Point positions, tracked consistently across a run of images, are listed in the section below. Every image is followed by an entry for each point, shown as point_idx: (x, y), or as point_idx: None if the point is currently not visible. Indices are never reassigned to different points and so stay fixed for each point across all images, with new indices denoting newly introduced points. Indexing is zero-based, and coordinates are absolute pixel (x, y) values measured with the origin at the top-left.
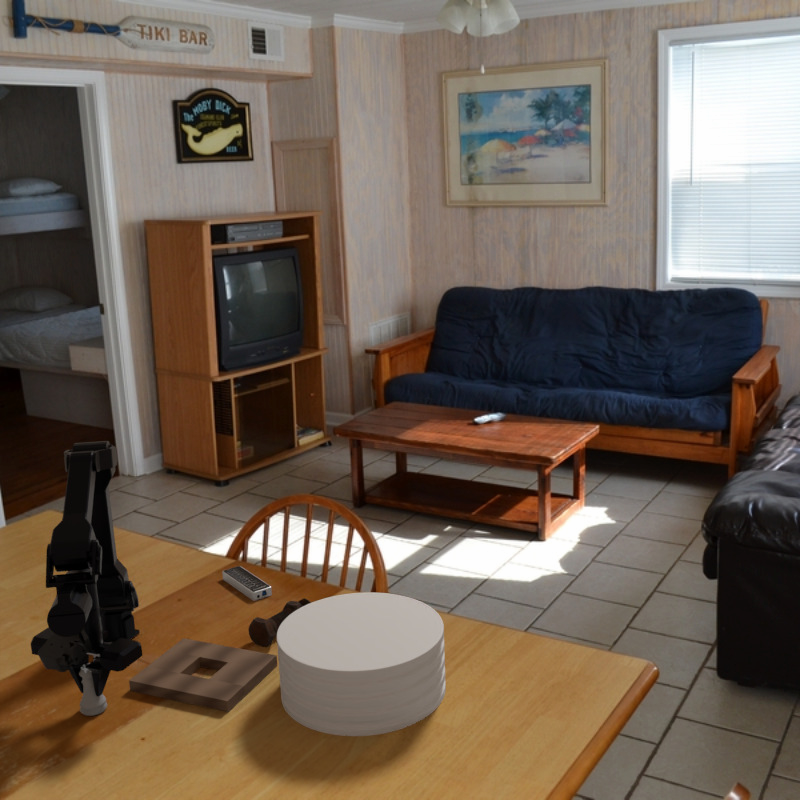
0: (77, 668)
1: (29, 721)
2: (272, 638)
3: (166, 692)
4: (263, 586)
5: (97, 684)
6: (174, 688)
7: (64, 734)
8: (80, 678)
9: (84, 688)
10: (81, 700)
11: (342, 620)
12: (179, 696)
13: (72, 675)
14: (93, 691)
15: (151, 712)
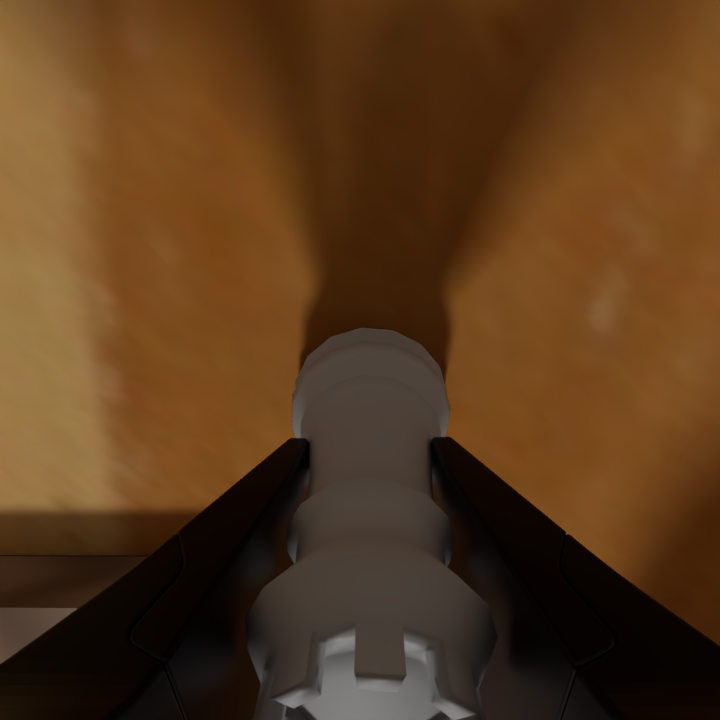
0: (536, 674)
1: (708, 141)
2: None
3: (101, 585)
4: None
5: (212, 508)
6: (47, 615)
7: (352, 102)
8: (470, 537)
9: (386, 452)
10: (431, 394)
11: None
12: (34, 578)
13: (566, 546)
14: (318, 456)
15: (87, 463)
